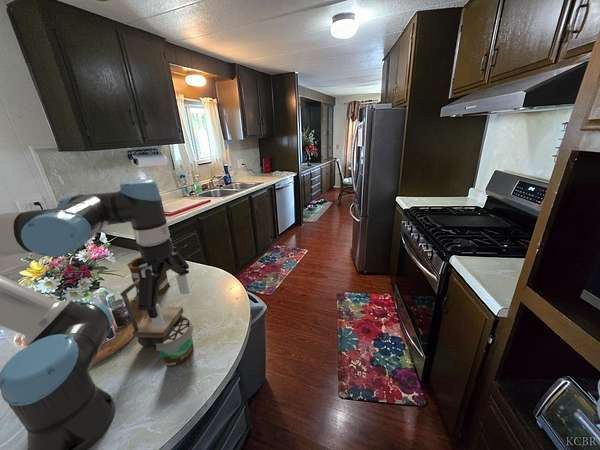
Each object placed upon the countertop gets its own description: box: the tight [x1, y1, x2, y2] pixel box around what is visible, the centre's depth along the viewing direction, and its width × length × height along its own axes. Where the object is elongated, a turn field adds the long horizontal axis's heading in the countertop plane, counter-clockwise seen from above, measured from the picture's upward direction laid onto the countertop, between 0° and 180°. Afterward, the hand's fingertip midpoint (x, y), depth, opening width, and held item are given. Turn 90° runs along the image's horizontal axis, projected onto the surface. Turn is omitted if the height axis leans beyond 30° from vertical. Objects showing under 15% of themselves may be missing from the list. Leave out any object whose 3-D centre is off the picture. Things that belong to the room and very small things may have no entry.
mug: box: [127, 256, 171, 298], centre depth 110 cm, size 20×14×15 cm
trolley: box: [119, 279, 184, 348], centre depth 81 cm, size 12×10×22 cm
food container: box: [155, 315, 195, 368], centre depth 74 cm, size 12×6×10 cm, turn 168°
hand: (173, 307), depth 70 cm, fingers open, 13 cm apart
